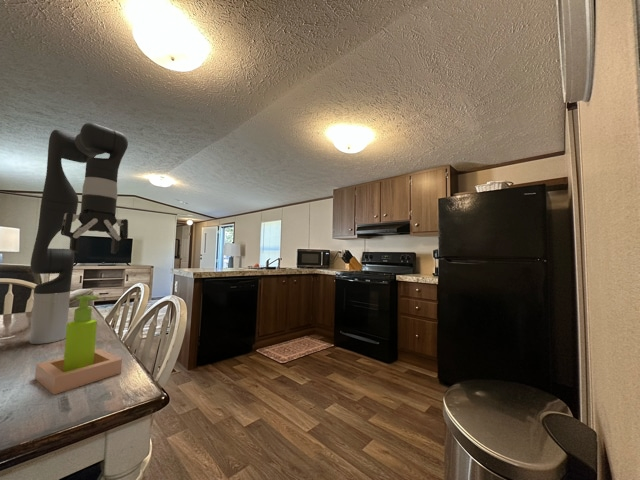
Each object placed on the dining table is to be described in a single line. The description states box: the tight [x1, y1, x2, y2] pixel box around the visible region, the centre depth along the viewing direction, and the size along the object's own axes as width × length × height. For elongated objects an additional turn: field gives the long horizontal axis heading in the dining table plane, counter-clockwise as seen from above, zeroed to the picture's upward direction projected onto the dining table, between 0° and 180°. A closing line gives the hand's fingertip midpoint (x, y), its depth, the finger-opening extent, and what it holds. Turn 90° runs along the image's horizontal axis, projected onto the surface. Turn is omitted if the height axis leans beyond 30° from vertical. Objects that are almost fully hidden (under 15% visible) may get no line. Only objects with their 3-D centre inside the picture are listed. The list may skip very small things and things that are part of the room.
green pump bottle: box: [63, 294, 100, 372], centre depth 68 cm, size 6×7×20 cm
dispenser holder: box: [34, 348, 123, 395], centre depth 67 cm, size 14×13×4 cm
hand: (95, 253), depth 72 cm, fingers open, 8 cm apart
